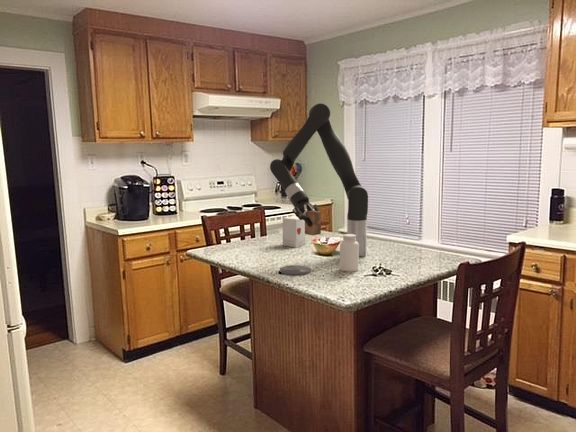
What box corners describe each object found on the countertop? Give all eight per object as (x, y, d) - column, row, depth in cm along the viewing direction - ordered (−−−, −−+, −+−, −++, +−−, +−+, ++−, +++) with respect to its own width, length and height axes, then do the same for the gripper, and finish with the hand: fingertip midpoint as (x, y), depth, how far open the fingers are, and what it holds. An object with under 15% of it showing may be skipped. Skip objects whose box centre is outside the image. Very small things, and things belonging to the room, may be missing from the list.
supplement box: (295, 247, 248) (295, 219, 246) (282, 245, 253) (282, 217, 251) (306, 244, 255) (306, 217, 253) (292, 242, 260) (292, 215, 258)
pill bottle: (353, 273, 198) (354, 237, 196) (336, 270, 202) (336, 235, 200) (361, 268, 205) (362, 234, 203) (344, 266, 209) (344, 232, 207)
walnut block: (312, 232, 214) (312, 210, 212) (320, 233, 210) (321, 211, 209) (304, 233, 210) (304, 211, 209) (312, 235, 207) (312, 212, 205)
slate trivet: (312, 268, 206) (312, 265, 206) (307, 276, 194) (307, 273, 194) (283, 266, 209) (283, 264, 209) (276, 274, 197) (276, 272, 196)
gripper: (289, 191, 208) (308, 221, 201) (312, 189, 218) (331, 218, 211) (281, 202, 213) (299, 232, 206) (304, 199, 222) (322, 228, 215)
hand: (315, 225), depth 208 cm, fingers closed on walnut block, 5 cm apart
